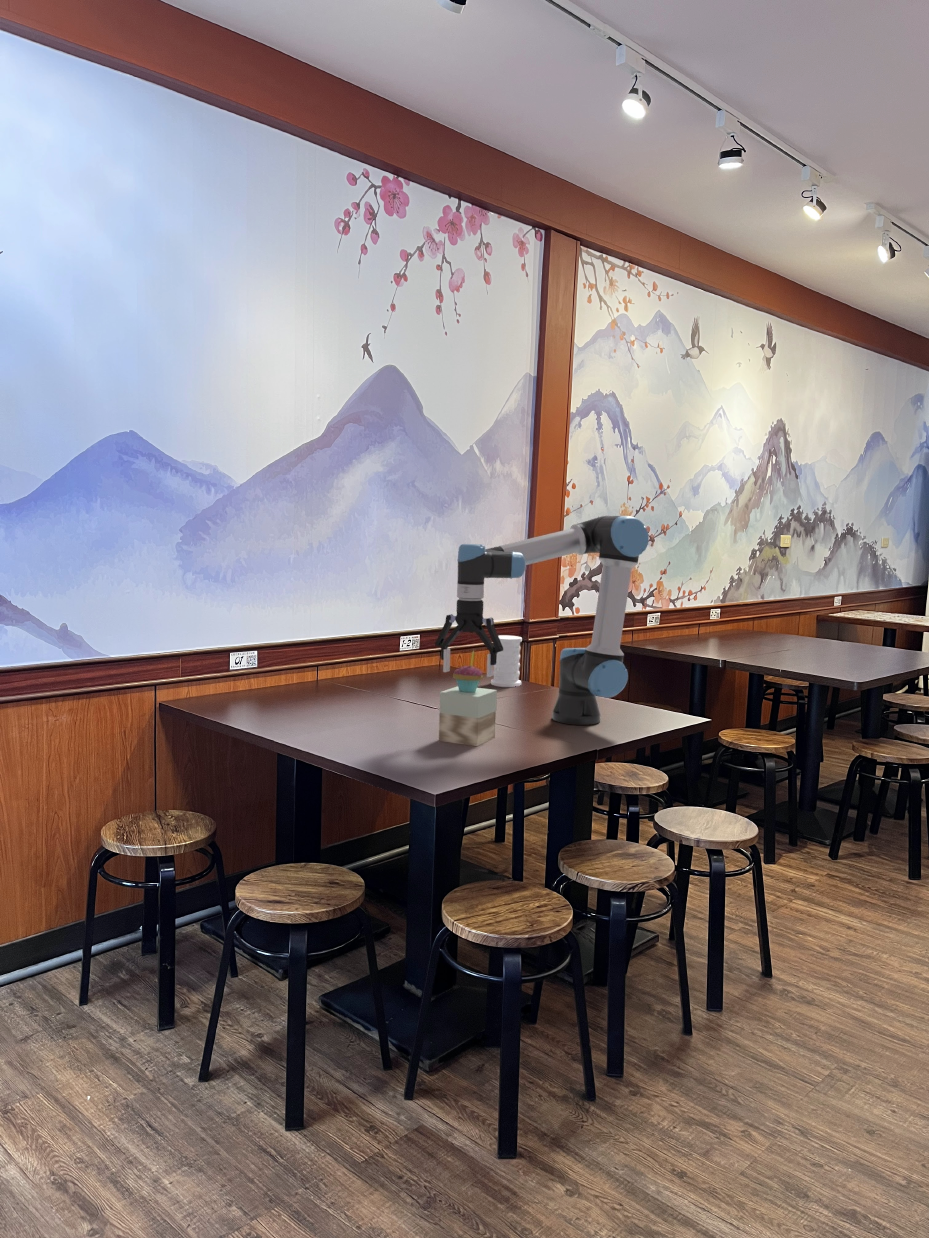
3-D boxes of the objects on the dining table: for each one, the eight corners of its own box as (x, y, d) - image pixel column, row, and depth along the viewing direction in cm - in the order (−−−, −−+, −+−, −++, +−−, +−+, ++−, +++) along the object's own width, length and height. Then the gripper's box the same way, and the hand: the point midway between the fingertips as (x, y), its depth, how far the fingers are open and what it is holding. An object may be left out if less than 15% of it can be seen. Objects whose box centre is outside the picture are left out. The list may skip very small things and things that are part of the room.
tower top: (496, 710, 264) (497, 690, 263) (477, 718, 253) (478, 696, 253) (459, 705, 269) (459, 685, 269) (439, 712, 259) (440, 691, 258)
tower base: (494, 737, 265) (495, 710, 264) (477, 746, 254) (478, 718, 253) (457, 732, 270) (458, 705, 269) (438, 740, 260) (439, 713, 259)
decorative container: (487, 681, 354) (489, 635, 352) (517, 681, 356) (518, 635, 354) (494, 687, 343) (495, 639, 341) (524, 687, 345) (526, 639, 343)
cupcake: (465, 686, 267) (467, 645, 265) (488, 691, 261) (490, 649, 260) (446, 690, 260) (448, 648, 259) (469, 694, 255) (471, 652, 253)
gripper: (424, 597, 260) (422, 671, 262) (505, 603, 249) (503, 680, 252) (436, 595, 267) (434, 667, 269) (516, 601, 256) (513, 676, 258)
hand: (467, 674), depth 260 cm, fingers open, 13 cm apart
